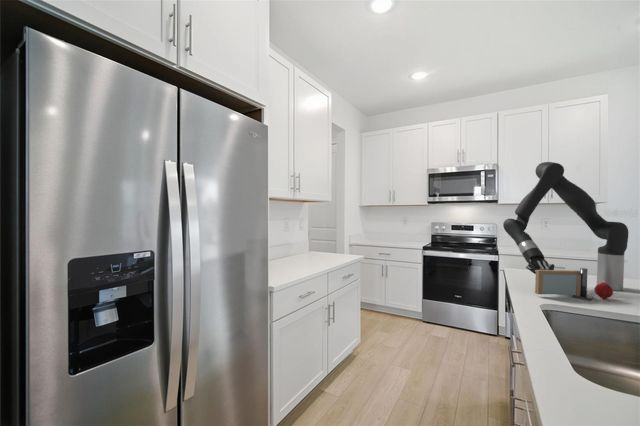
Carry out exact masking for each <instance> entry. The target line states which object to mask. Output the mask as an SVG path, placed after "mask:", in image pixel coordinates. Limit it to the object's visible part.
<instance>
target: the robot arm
mask: <svg viewBox="0 0 640 426" xmlns="http://www.w3.org/2000/svg"><path fill="white" fill-rule="evenodd" d="M564 173H565V167H564V166H563V165H562V164H560V163H558V162H552V161H544V162H541V163H539V164H538V165H537V166H536V167H535V175H536V177H537V178H538V179H539V180H538V182H537V183H536V185H535V186H534V187H533V188H532V190H531V191H530V192H528V194H526V196H525V197H523V199H521V201H520V202H519V204H518V205H517V207H516V208H515V211H514V213H515V215H516V219H515V218H507V219H505V220H504V221H503V224H502V225H503V227H502V228H503V230H504V231H505V233H506V234H507V235H508V236H509V237H511V238H512V239H513V241H514V242H515V244H516V246H517V247H518V249H519V252H520V253H521V255H522V257H523V258H524V260H525V261H526V263H527V265H526V266H525V268H526V269H527V270H529V271H530V272H531V273H533V274H534V275H536V270H555V264H553V263H551V264H550V263H549V262H548V261H547V260H546V259H545V255H544V254H543V252H542V251H541V249H540V247H539V246H538V245H537V244H536V242H535V241H534V240H533V238H532V237H531V236H530V234H529V233H527V232H526V231H525V230H526V229H527V226H528V223H529V222H530V217H531V216H532V215H533V212H534V211H535V210H536V208H537V207H538V205H539V203H540V202H541V201H542V200H543V198H544V197H545V196H546V195H547V194H548V193H549V192H550V190H551V189H552V190H553V191H554V192H555V194H556V195H557V196H558V197H559V198H560V199H561V200H562V201H563V202H564V203H565V204H566V206H568V208H570V209H571V210H572V211H573V212H574V213H575V214H576V215H577V216H578V217H579V218H580V219H581V220H582V221H583V222H584V223H585V224H586V225H587V227H588V228H589V229H590V230H591V232H592V234H594V235H595V236H596V237H597V238H598V239H600V240H601V239H602V240H604V241H605V240H606V243H605V245H603V246H598V248H597V261H596V262H597V264H596V265H597V267H596V286H597V285H598V284H600V283H602V281H605V283H606V284H608V285H609V286H610V287H611V288H612V289H613V291H618V292H621V291H622V292H623V291H624V275H625V273H624V272H625V252H626V250H627V248H628V242H629V241H628V240H629V228H628V226H627V225H626V224H625V223H623V222H620V221H607V220H606V219H605V218H604V217H602V216H601V215H600V214H599V213H598V211H597V204H596V201H595V200H594V198H592V196H590V195H589V194H588V193H587V191H585V190H584V189H583V188H581V187H579V186H578V185H577V184H575V183H573V182H572V181H570V180H569V179H567V178H566V177H565V176H564Z"/></svg>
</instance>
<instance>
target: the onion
mask: <svg viewBox="0 0 640 426" xmlns="http://www.w3.org/2000/svg"><path fill="white" fill-rule="evenodd" d="M593 290H594V293H595V294H596V296H598V297H599V298H600V299H602V300H606V299H609V298H611V297H612V296H613V295H614V290H613V289H612V288H611V287H610V286H609V285H608V284H606V283H605V281H602V283H600V284H598V285H597V284H596V285H595V287H594V289H593Z"/></svg>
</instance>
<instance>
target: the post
mask: <svg viewBox="0 0 640 426" xmlns="http://www.w3.org/2000/svg"><path fill="white" fill-rule="evenodd" d="M579 271H581V291H580V295H572V298H574V299H580V300H584V301H585V300H586V301H590V302H591V301H592V300H593V299H594V295H593V294H588V291H587V290H588V268H585V267H580V268H579Z"/></svg>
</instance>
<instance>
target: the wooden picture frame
mask: <svg viewBox="0 0 640 426" xmlns="http://www.w3.org/2000/svg"><path fill="white" fill-rule="evenodd" d="M534 289H535V290H534V294H537V295H565V296H566V295H567V296H573V295H580V291H581V271H580V270H571V269H569V270H565V269H561V270H557V269H554V270H536V274H535V288H534Z"/></svg>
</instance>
